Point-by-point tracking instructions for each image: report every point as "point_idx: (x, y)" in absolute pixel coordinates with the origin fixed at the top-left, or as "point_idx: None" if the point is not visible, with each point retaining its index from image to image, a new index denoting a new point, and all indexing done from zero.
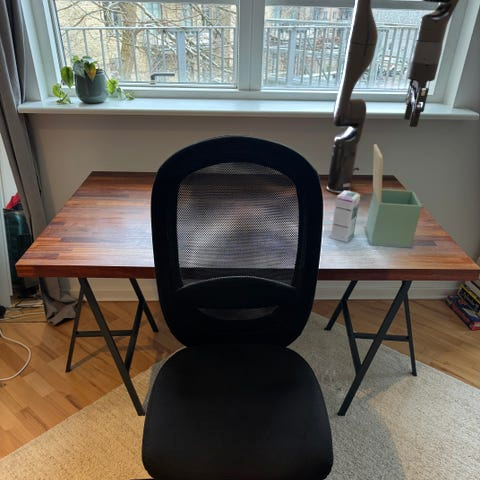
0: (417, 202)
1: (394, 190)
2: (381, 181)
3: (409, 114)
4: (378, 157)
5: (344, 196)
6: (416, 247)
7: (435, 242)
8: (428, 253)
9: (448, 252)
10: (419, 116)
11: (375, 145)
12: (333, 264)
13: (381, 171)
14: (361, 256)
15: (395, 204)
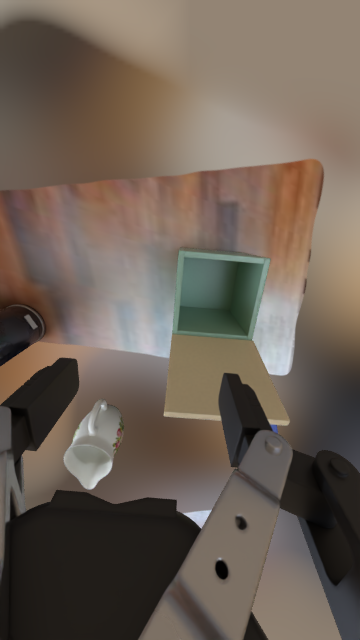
0: (247, 262)
1: (180, 295)
2: (266, 370)
3: (63, 387)
4: None
5: None
6: (242, 242)
7: (225, 199)
8: (263, 227)
9: (262, 187)
10: (253, 411)
11: (176, 415)
12: (280, 366)
13: (274, 389)
14: (264, 331)
15: (256, 312)
